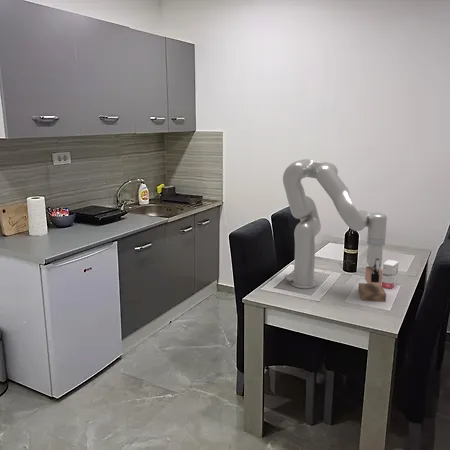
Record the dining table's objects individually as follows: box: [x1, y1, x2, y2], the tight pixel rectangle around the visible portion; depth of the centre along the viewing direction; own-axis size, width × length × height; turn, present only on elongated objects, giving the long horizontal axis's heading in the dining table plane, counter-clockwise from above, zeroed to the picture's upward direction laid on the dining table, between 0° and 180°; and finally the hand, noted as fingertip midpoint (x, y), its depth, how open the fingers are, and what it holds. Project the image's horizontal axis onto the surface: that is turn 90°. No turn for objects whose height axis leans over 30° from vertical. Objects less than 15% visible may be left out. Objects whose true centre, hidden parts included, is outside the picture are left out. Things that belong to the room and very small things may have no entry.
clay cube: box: [364, 265, 383, 285], centre depth 199 cm, size 6×6×6 cm
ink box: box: [381, 259, 400, 290], centre depth 213 cm, size 9×5×12 cm, turn 142°
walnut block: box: [357, 282, 387, 303], centre depth 201 cm, size 10×12×4 cm
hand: (373, 279), depth 200 cm, fingers closed on clay cube, 6 cm apart
